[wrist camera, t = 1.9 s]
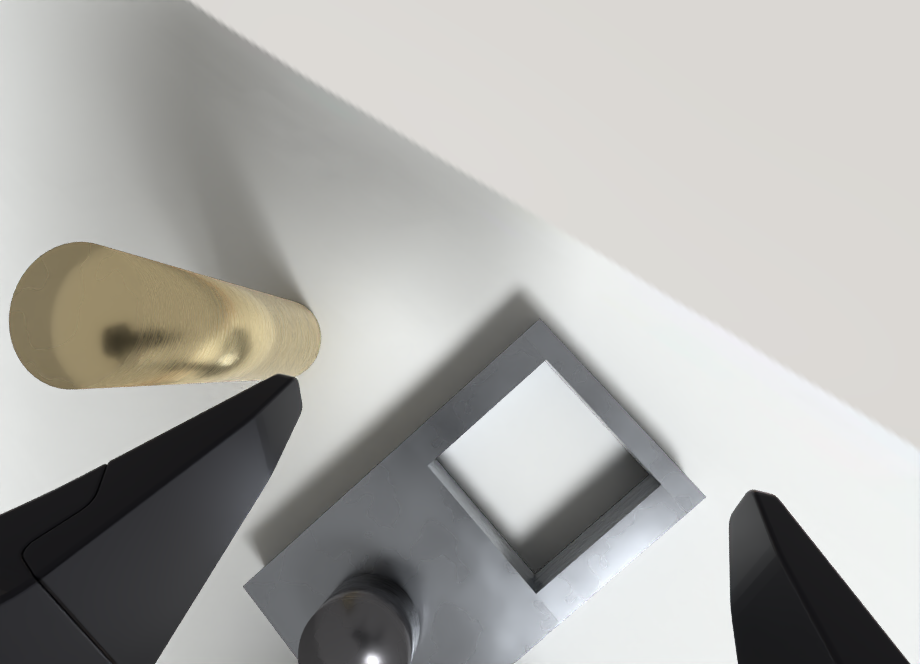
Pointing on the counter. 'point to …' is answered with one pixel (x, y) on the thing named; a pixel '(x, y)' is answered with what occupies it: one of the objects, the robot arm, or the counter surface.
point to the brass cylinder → (150, 324)
